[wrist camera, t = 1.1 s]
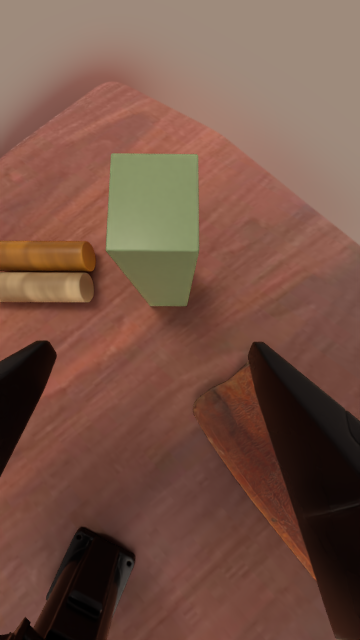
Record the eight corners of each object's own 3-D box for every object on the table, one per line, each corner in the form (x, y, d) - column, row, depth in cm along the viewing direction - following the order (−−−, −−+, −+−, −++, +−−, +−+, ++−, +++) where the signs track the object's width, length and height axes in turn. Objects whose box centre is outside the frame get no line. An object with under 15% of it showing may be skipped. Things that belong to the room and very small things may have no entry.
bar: (187, 306, 21) (199, 251, 8) (149, 306, 21) (104, 250, 8) (186, 264, 22) (198, 153, 9) (150, 264, 22) (110, 152, 9)
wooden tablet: (185, 405, 20) (186, 411, 18) (255, 351, 21) (261, 352, 19) (350, 639, 17) (369, 670, 16) (424, 567, 18) (448, 590, 16)
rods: (93, 304, 21) (78, 298, 18) (-1, 304, 21) (-32, 297, 18) (96, 250, 22) (83, 235, 19) (6, 250, 22) (-23, 234, 19)
